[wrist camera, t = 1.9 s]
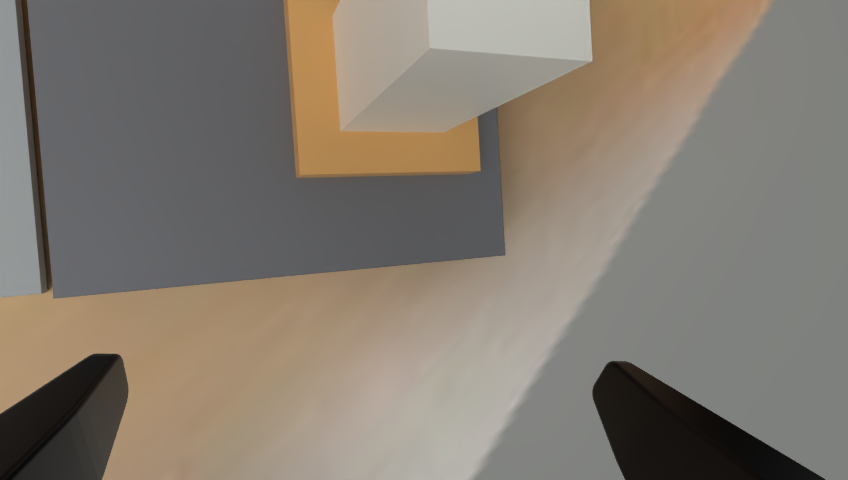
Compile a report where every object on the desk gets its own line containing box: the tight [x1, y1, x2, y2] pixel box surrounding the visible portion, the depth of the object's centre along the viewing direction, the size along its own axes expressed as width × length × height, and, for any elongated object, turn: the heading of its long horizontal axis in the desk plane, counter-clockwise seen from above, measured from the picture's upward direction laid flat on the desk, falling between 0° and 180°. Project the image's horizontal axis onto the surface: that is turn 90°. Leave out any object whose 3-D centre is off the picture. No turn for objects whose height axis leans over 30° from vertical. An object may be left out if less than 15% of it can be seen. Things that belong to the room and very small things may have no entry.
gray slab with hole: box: [27, 0, 505, 298], centre depth 19 cm, size 11×16×3 cm
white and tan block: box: [283, 0, 592, 178], centre depth 16 cm, size 7×7×12 cm
